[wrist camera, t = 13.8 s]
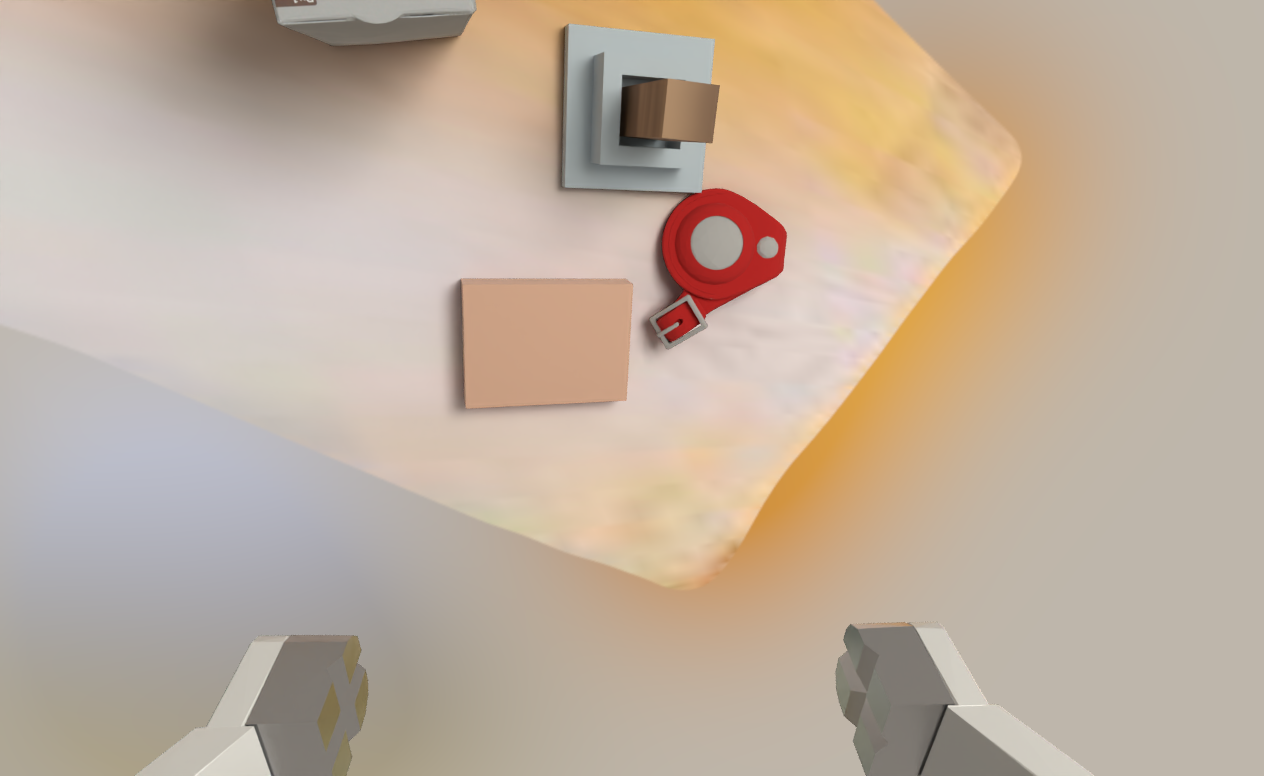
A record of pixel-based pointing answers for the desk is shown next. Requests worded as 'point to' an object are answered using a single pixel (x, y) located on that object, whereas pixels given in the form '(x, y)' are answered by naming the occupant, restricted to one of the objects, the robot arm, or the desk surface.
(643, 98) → the post
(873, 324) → the desk surface
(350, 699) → the robot arm
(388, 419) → the desk surface
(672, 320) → the tracker holder
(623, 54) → the grey square socket base
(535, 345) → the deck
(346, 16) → the skincare box
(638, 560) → the desk surface
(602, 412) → the desk surface
